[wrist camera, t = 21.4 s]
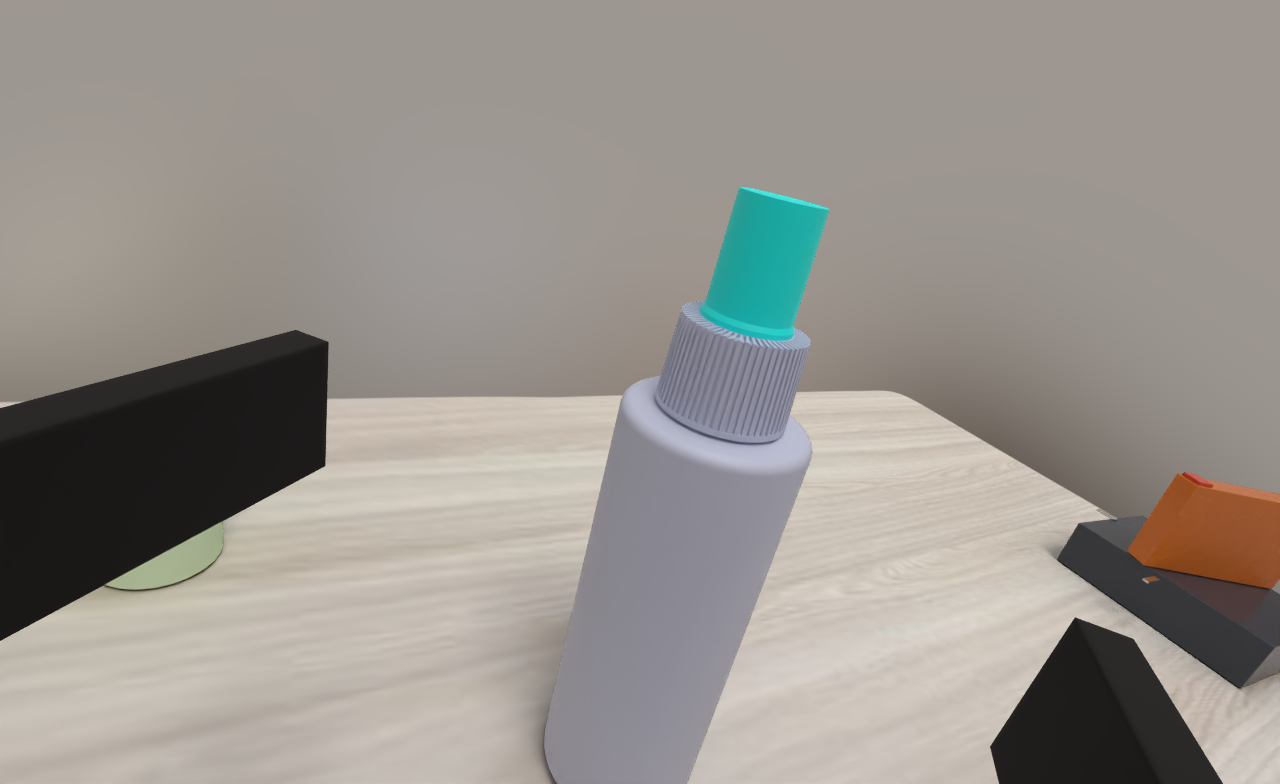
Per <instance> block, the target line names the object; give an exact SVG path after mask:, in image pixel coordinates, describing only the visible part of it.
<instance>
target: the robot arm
mask: <svg viewBox="0 0 1280 784" xmlns="http://www.w3.org/2000/svg"><path fill="white" fill-rule="evenodd" d="M327 379H328V342H327V341H324V340H322V339H319V338H316V337H314V336H311V335H308V334H305V333H303V332H300V331H297V330H294V331H290V332H287V333H283V334H279V335H275V336H272V337H268V338H264V339H260V340H256V341H252V342H249V343H245V344H241V345H237V346H234V347H230V348H226V349H223V350H219V351H215V352H211V353H207V354H203V355H200V356H196V357H193V358H188V359H185V360H181V361H177V362H173V363H170V364H166V365H162V366H158V367H154V368H151V369H147V370H143V371H139V372H135V373H132V374H128V375H124V376H120V377H117V378H113V379H109V380H105V381H102V382H98V383H94V384H90V385H87V386H83V387H79V388H75V389H71V390H68V391H64V392H60V393H56V394H53V395H49V396H45V397H41V398H38V399H34V400H30V401H26V402H22V403H19V404H15V405H11V406H7V407H3V408H0V641H1V640H3V639H5V638H7V637H8V636H10V635H12V634H14V633H16V632H18V631H20V630H21V629H23V628H25V627H27V626H29V625H31V624H33V623H34V622H36V621H38V620H40V619H42V618H44V617H46V616H47V615H49V614H51V613H53V612H55V611H57V610H59V609H60V608H62V607H64V606H66V605H68V604H70V603H72V602H73V601H75V600H77V599H79V598H81V597H83V596H85V595H86V594H88V593H90V592H92V591H94V590H96V589H98V588H99V587H101V586H103V585H105V584H107V583H109V582H111V581H112V580H114V579H116V578H118V577H120V576H122V575H124V574H125V573H127V572H129V571H131V570H133V569H135V568H137V567H138V566H140V565H142V564H144V563H146V562H148V561H150V560H151V559H153V558H155V557H157V556H159V555H161V554H163V553H164V552H166V551H168V550H170V549H172V548H174V547H176V546H177V545H179V544H181V543H183V542H185V541H187V540H189V539H190V538H192V537H194V536H196V535H198V534H200V533H202V532H203V531H205V530H207V529H209V528H211V527H213V526H215V525H216V524H218V523H220V522H222V521H224V520H226V519H228V518H229V517H231V516H233V515H235V514H237V513H239V512H241V511H242V510H244V509H246V508H248V507H250V506H252V505H254V504H255V503H257V502H259V501H261V500H263V499H265V498H267V497H268V496H270V495H272V494H274V493H276V492H278V491H280V490H281V489H283V488H285V487H287V486H289V485H291V484H293V483H294V482H296V481H298V480H300V479H302V478H304V477H306V476H308V475H309V474H311V473H313V472H315V471H317V470H319V469H321V468H322V467H324V466H325V457H326V419H327ZM990 748H991V752H992V756H993V760H994V765H995V769H996V773H997V777H998V781H999V784H1223V783H1222V781H1221V780H1220V778H1219V777H1218V775H1217V773H1216V772H1215V770H1214V768H1213V767H1212V765H1211V764H1210V762H1209V760H1208V759H1207V757H1206V755H1205V754H1204V752H1203V751H1202V749H1201V747H1200V746H1199V744H1198V743H1197V741H1196V739H1195V738H1194V736H1193V734H1192V733H1191V731H1190V730H1189V728H1188V726H1187V725H1186V723H1185V721H1184V720H1183V718H1182V717H1181V715H1180V713H1179V712H1178V710H1177V709H1176V707H1175V705H1174V704H1173V702H1172V700H1171V699H1170V697H1169V696H1168V694H1167V692H1166V691H1165V689H1164V688H1163V686H1162V684H1161V683H1160V681H1159V679H1158V678H1157V676H1156V675H1155V673H1154V671H1153V670H1152V668H1151V666H1150V665H1149V663H1148V662H1147V660H1146V658H1145V657H1144V655H1143V654H1142V652H1141V650H1140V649H1139V647H1138V645H1137V644H1136V642H1135V641H1134V639H1132V638H1129V637H1127V636H1124V635H1121V634H1119V633H1116V632H1113V631H1110V630H1108V629H1105V628H1102V627H1100V626H1097V625H1094V624H1091V623H1089V622H1086V621H1083V620H1081V619H1078V618H1074V620H1073V621H1072V623H1071V624H1070V626H1069V627H1068V629H1067V630H1066V632H1065V634H1064V635H1063V637H1062V638H1061V640H1060V641H1059V643H1058V644H1057V646H1056V647H1055V649H1054V650H1053V652H1052V653H1051V655H1050V656H1049V658H1048V659H1047V661H1046V662H1045V664H1044V665H1043V667H1042V668H1041V670H1040V672H1039V673H1038V675H1037V676H1036V678H1035V679H1034V681H1033V682H1032V684H1031V685H1030V687H1029V688H1028V690H1027V691H1026V693H1025V694H1024V696H1023V697H1022V699H1021V700H1020V702H1019V703H1018V705H1017V707H1016V708H1015V710H1014V711H1013V713H1012V714H1011V716H1010V717H1009V719H1008V720H1007V722H1006V723H1005V725H1004V726H1003V728H1002V729H1001V731H1000V732H999V734H998V735H997V737H996V738H995V740H994V742H993V743H992V745H991V746H990Z"/></svg>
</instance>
